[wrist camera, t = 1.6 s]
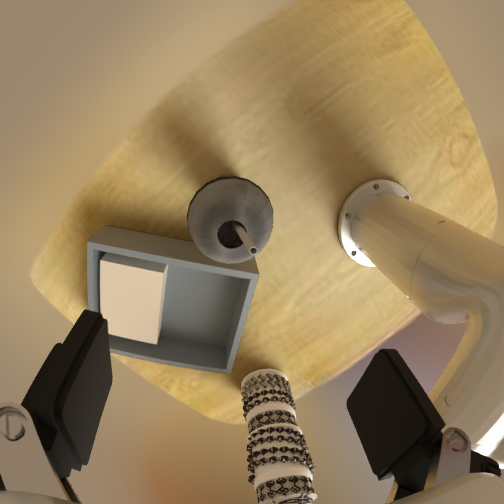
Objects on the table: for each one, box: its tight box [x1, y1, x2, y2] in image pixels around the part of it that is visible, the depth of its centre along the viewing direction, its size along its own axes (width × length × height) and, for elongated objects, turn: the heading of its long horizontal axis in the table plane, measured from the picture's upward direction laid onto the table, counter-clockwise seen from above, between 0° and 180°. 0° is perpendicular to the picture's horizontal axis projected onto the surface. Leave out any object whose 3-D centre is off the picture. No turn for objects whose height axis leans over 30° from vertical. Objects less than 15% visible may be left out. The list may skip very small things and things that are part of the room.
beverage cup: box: [187, 175, 273, 264], centre depth 26 cm, size 7×7×20 cm
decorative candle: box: [241, 368, 318, 504], centre depth 37 cm, size 9×9×25 cm
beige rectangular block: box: [100, 252, 168, 344], centre depth 36 cm, size 8×11×4 cm
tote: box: [87, 225, 259, 374], centre depth 36 cm, size 20×16×6 cm
